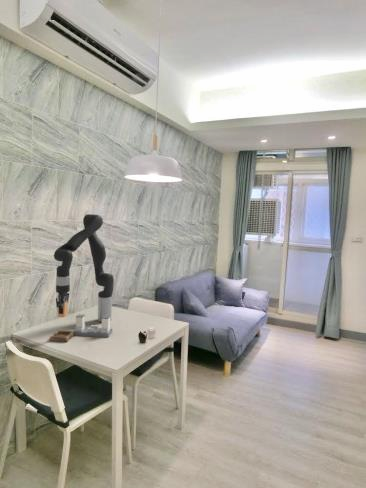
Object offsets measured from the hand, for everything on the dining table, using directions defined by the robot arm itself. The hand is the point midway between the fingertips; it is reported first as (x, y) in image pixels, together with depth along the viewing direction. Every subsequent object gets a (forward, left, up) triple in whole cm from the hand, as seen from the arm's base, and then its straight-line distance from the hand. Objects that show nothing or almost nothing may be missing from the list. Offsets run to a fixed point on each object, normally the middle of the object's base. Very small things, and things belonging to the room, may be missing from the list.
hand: (62, 312), depth 188 cm
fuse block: (-10, +15, -16) cm, 24 cm away
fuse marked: (0, 0, -2) cm, 2 cm away
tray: (0, 0, -16) cm, 16 cm away
